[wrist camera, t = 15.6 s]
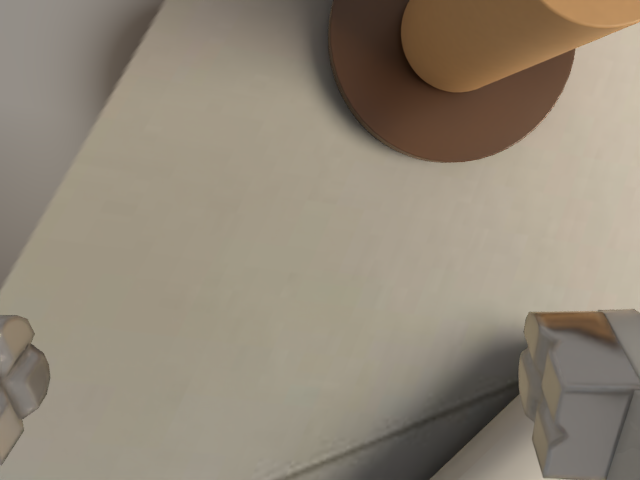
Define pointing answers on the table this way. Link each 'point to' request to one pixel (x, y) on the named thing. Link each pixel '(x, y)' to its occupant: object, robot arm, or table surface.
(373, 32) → the disc
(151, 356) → the table surface
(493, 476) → the tube
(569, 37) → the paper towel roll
